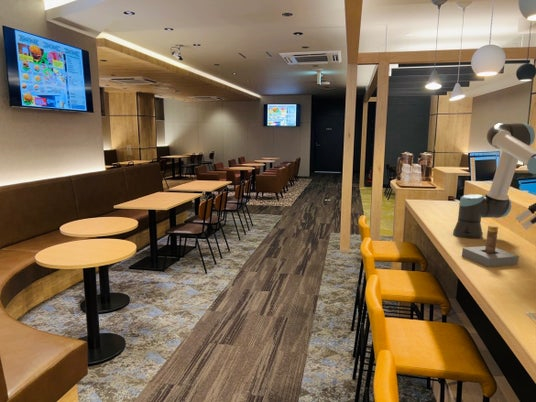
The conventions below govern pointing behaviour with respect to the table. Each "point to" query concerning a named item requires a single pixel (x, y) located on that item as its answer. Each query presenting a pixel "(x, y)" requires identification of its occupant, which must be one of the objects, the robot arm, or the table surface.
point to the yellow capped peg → (491, 239)
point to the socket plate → (490, 257)
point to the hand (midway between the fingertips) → (520, 223)
